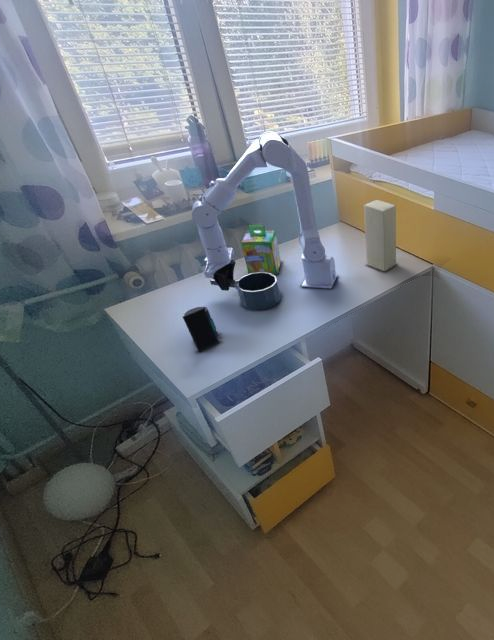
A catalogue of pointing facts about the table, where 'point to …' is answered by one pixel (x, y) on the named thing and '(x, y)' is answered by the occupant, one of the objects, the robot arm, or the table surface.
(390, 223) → the tall cream block
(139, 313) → the table surface
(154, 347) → the table surface
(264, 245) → the chalk box
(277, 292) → the saucepan
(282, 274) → the table surface
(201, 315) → the speaker
